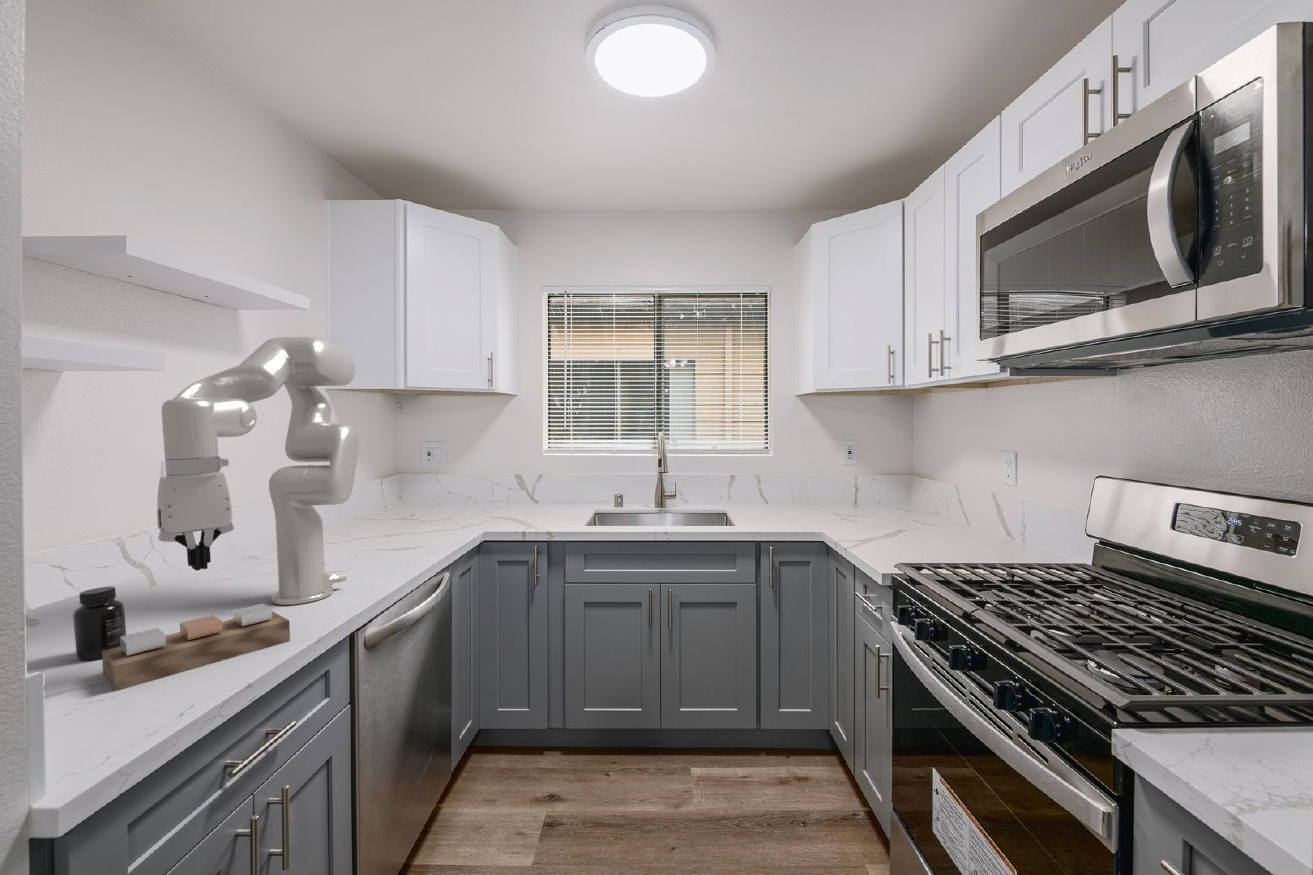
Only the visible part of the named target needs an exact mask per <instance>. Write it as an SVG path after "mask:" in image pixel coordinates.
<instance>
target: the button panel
mask: <svg viewBox="0 0 1313 875" xmlns="http://www.w3.org/2000/svg"><path fill="white" fill-rule="evenodd" d="M272 618H273V619H269V620H265V621H261V622H259V623H256V624H252V625H248V626H247V625H246V626H240V625H239V624H237V623H236V622H234V621H233V618H232V619H228V620H225V621H223V620H222V632H218V633H214V634H210V635H208V636H205V637H201V638H197V639H191V640H187V639H186V638H185V637H184V636H182V635H181V634H180V631H179V632H175V633H171V634H165V636H166V646H163V647H159V648H155V649H151V650H150V651H146V652H142V653H138V654H137V653H136V654H132V655H128V656H127V655H126V654H125V653H124V652H123V650H122V649H121V647H117V648H112V649H108V650H104V651H102V674H103V676H104V678H106V680H107V682H108V683H109V684H110V686H111V687H112V689H113V690H114V691H115V692H116V691H120V690H124V689H128V688H130V687H133V686H138V685H141V684H144V683H148V682H151V681H155V680H157V679H162V678H165V677H169V676H172V675H175V674H178V673H183V672H186V671H190V670H193V668H194V669H196V668H201V667H203V666H207V665H206V664H208V665H210V664H209V663H211V664H213V663H214V662H215V663H217V661H218V662H220V661H219V660H221V661H223V660H222V659H225V660H228V659H232V658H235V657H238V656H237V655H239V656H241V655H245V654H250V653H252V652H256V651H259V650H263V649H267V648H270V647H273V646H276V645H280V644H284V643H288V642H291V631H290V630H291V628H290V627H291V626H290V620H289V619H287V618H285V617H284V616H282V615H280V614H278V613H276V612H275V611H273V610H272ZM231 657H232V658H231Z"/></svg>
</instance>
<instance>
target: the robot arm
mask: <svg viewBox="0 0 1313 875" xmlns="http://www.w3.org/2000/svg"><path fill="white" fill-rule="evenodd" d="M355 375H356V366H355V362H354V359H353V358H352V356H350V354H349V353H348V352H346V351H345V350H343V349H342V348H340V347H338V346H336V345H335V344H333V343H331V342H329V341H327V340H325V339H322V338H319V337H314V336H280V337H279V336H278V337H273V338H269V339H268V340H266V341H265V342H263V343H262V344H261V345H260V346H259V347H258V348H256V350H254V351H253V352H252V353H251V354H250V355H249V356H247V358H245V359H244V360H243V361H242V362H241V363H240V364H239V365H237V366H233V367H230V368H228V369H225V370H222V371H220V372H218V373H215V374H212V375H209V376H207V377H204V378H202V379H199V380H197V381H195V382H193V383H191V384H190V385H188V386H186V387H185V388H184V389H182V391H180V392H179V393H178V394H177V395H176V396H174V397H173V398H172V399H168V400H165V401H164V402H163V403H162V406H161V422H162V424H161V426H162V436H163V438H162V439H163V449H164V463H165V464H164V465H165V467H164V468H165V476H162V477H160V478H159V480H158V489H157V500H156V502H157V503H156V506H157V509H156V511H157V512H156V514H157V515H156V516H157V517H156V519H157V528H158V529H159V533H158V540H159V541H160V542H163V543H164V542H165V543H166V542H167V543H169V542H170V543H178V544H180V545H182V546H184V547H185V548H186V555H187V557H186V558H187V565H188V567H191V568H192V569H193V570H195V571H200V570H206V569H208V564H209V563H211V562H212V561H211V559H212V558H211V546H212V545H213V543H214V541H216V539H218V537H220V535H224V534H226V533H229V532H233V531H234V528H235V527H234V524H233V509H232V501H231V496H230V490H229V487H228V483H227V482H228V481H227V479H226V476H225V474H224V472H221V470H222V468H224V467H228V466H229V464H230V463H229V462H230V461H229V459H228V458H221V457H220V456H219V444H218V438H231V437H232V438H236V437H241V436H244V435H246V434H248V433H250V432H251V431H252V430H253V429H254V428H255V426H256V424H257V420H258V414H257V411H256V409H255V407H254V406H253V405H252V404H251V403H254V402H258V401H262V400H264V399H268V398H271V397H273V396H274V395H275V394H276V393H277V392H278V391H279V390H280V389H281V388H282V387H283V386H284V387H285V389H286V391H287V393H288V395H289V398H290V402H291V411H290V417H289V423H288V426H287V427H288V428H287V433H286V438H285V439H286V440H285V443H284V444H285V445H284V451H285V454H286V456H287V458H288V459H289V460H291V461H293V462H298V463H299V462H300V463H329V464H327V465H326V464H325V465H324V464H323V465H320V464H318V465H315V464H312V465H309V464H308V465H289V466H285V467H281V468H279V469H277V470H275V471H274V472H273V473H272V474H271V476H270V478H269V480H268V491H269V495H270V499H271V503H272V507H273V511H274V520H275V534H276V537H275V538H276V555H277V556H276V558H277V576H278V592H275V593H274V594H272V595H271V597H270V598H271V601H270V602H271V603H272V604H274V605H280V606H288V605H291V606H293V605H300V604H306V603H311V602H315V601H319V600H321V599H325V598H327V597H330V596H331V595H332V594H333V592H334V589H333V587H332V585H334V584H335V583H341V582H346V581H347V574H346V573H345V572H343V573H339V574H336V573H333V574H328V573H326V572H325V569H326V568H325V554H324V553H325V549H324V547H325V546H324V525H323V524H324V523H323V521H322V517H321V516H320V513H319V512H318V511H317V509H315V508H314V506H331V505H332V506H334V505H342V504H344V503H347V502H348V500H349V499H350V497H351V496H352V493H353V488H354V482H355V475H356V471H357V463H358V456H359V450H360V444H359V436H358V433H357V431H356V429H355V428H354V427H353V426H352V425H350V424H347V423H343V422H342V423H341V422H340V423H339V422H334V423H333V422H331V417H332V416H331V414H332V407H331V404H330V403H329V400H328V399H327V398H326V396H325V395H324V394H323V393H322V392H321V391H320V390H319V389H318V388H317V387H340V386H346V385H349V384H350V383H351V382H352V381H353V380H354V378H355ZM194 532H200V538H199V542H198V544H197V543H196V538H195V535H194Z"/></svg>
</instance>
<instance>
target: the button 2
mask: <svg viewBox="0 0 1313 875" xmlns="http://www.w3.org/2000/svg"><path fill="white" fill-rule="evenodd" d="M272 611H273V608H272V607H270V606H268V605H267V604H264V603H260V604H255V605H251V606H247V607H242V608H238V609H232V619H233V621H234V622H236V623H237V624H239V625H240V626H246V625H247V626H248V625H252V624H256V623H259V622H261V621H265V620H269V619H273V618H272Z"/></svg>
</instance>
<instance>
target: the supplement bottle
mask: <svg viewBox="0 0 1313 875" xmlns="http://www.w3.org/2000/svg"><path fill="white" fill-rule="evenodd" d="M116 593H117V592H116V587H115V586H102V587H96V588H91V589H86V590H83V591H81V592H79V593H78V596H79V602H78V603H79V604H80V605H81V606H79V607H78V608H77V609H75V611H74V612H73V614H72V615H73V616H72V617H73V618H72V619H73V631H74V633H73V634H74V640H75V641H74V645H75V654H76V658H77V660H79V661H83V662H86V661H87V662H89V661H96V660H101V659H102V651H104V650H108V649H112V648H117V647H121V645H120V637H121V636H126V635H127V626H126V615H125V614H126V612H125V605H124V603H123V602H122V601H121V600H117V599H116V598H117V594H116Z"/></svg>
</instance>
